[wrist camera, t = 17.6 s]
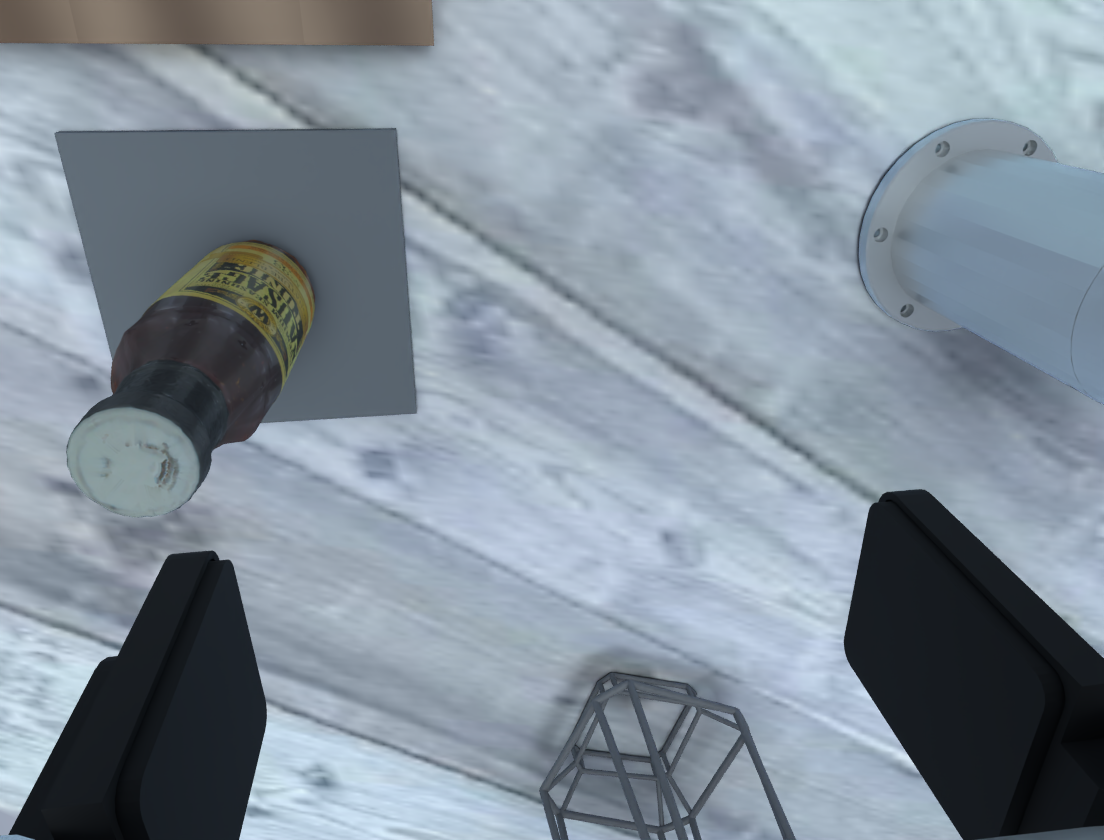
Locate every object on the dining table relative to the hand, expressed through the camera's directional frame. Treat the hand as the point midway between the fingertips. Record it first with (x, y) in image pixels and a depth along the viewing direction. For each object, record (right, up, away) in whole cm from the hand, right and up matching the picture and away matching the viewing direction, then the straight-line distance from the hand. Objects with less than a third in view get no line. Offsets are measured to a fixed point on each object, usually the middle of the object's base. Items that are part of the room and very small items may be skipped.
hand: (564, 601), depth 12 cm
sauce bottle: (-16, +10, +31) cm, 36 cm away
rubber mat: (-16, +10, +32) cm, 37 cm away
